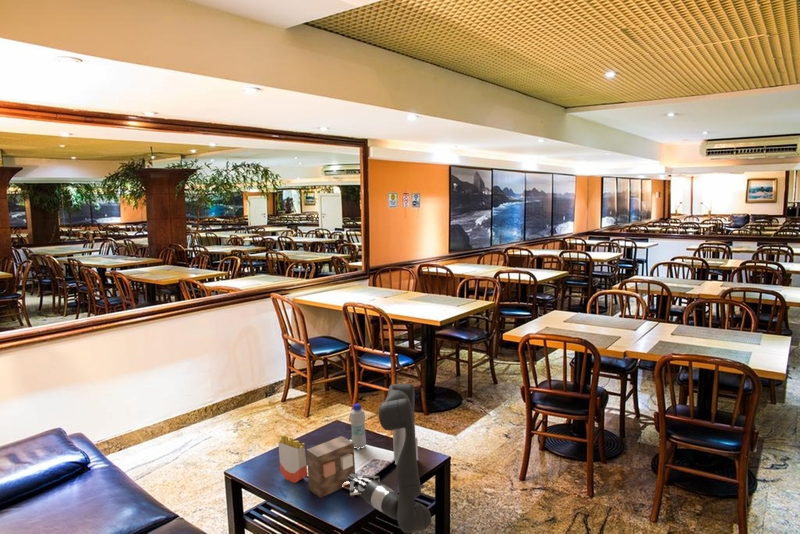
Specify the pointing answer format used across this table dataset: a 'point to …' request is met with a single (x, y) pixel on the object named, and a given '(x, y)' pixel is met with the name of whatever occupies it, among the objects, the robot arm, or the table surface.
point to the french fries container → (292, 459)
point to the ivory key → (346, 461)
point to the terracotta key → (328, 468)
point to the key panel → (326, 454)
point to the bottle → (358, 426)
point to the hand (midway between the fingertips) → (350, 476)
